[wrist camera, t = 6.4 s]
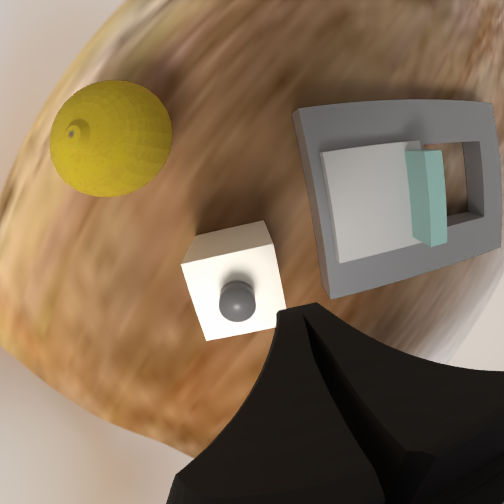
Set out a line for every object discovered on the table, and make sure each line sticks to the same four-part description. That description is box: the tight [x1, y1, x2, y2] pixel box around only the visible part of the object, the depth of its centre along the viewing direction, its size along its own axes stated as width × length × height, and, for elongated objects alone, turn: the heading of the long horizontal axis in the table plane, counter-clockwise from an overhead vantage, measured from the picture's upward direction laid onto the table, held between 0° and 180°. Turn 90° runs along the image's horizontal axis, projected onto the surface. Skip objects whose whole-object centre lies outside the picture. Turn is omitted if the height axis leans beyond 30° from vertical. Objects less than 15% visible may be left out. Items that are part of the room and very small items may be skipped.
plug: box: [181, 220, 286, 341], centre depth 16 cm, size 4×4×6 cm
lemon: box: [50, 80, 173, 197], centre depth 12 cm, size 6×6×8 cm
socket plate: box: [292, 99, 502, 300], centre depth 16 cm, size 11×15×2 cm
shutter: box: [320, 141, 447, 263], centre depth 14 cm, size 6×6×3 cm
